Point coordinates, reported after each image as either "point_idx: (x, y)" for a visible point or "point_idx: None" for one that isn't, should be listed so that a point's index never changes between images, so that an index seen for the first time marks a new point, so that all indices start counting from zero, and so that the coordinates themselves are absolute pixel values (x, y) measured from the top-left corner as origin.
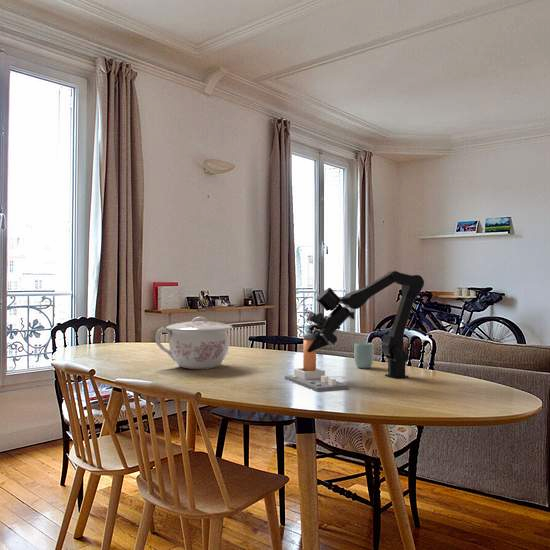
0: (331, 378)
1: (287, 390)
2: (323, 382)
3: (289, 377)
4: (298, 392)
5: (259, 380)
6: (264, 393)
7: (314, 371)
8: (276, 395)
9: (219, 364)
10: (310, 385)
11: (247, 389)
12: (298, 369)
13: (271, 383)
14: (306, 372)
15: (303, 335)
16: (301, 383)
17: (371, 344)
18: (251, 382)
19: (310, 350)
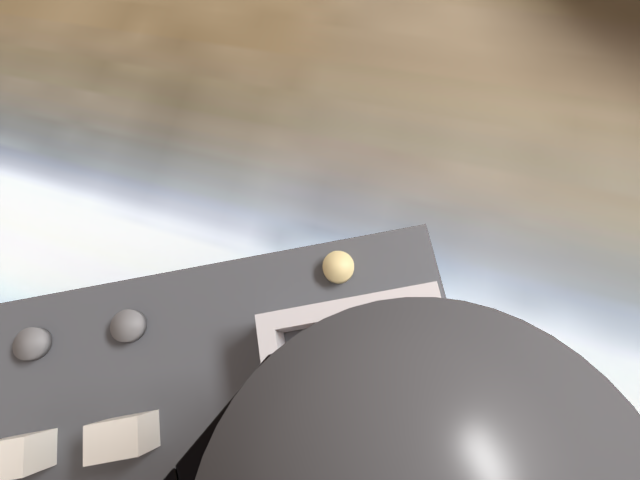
0: (2, 460)
1: (100, 167)
2: (119, 415)
3: (356, 237)
4: (33, 207)
5: (402, 87)
6: (80, 57)
7: None
8: (19, 96)
9: None
10: (66, 292)
11: (190, 6)
12: None
13: (302, 129)
14: (258, 331)
15: (453, 306)
16: (185, 271)
17: None
18: (353, 43)
19: None
